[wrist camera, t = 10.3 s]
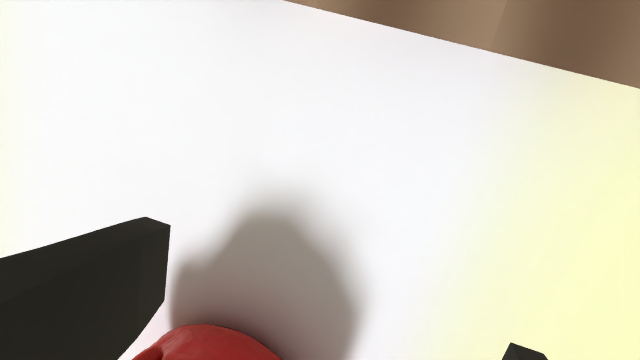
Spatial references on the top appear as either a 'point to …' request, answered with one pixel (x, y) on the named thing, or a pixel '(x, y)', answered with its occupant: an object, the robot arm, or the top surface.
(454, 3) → the housing
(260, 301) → the top surface
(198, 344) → the pomegranate
